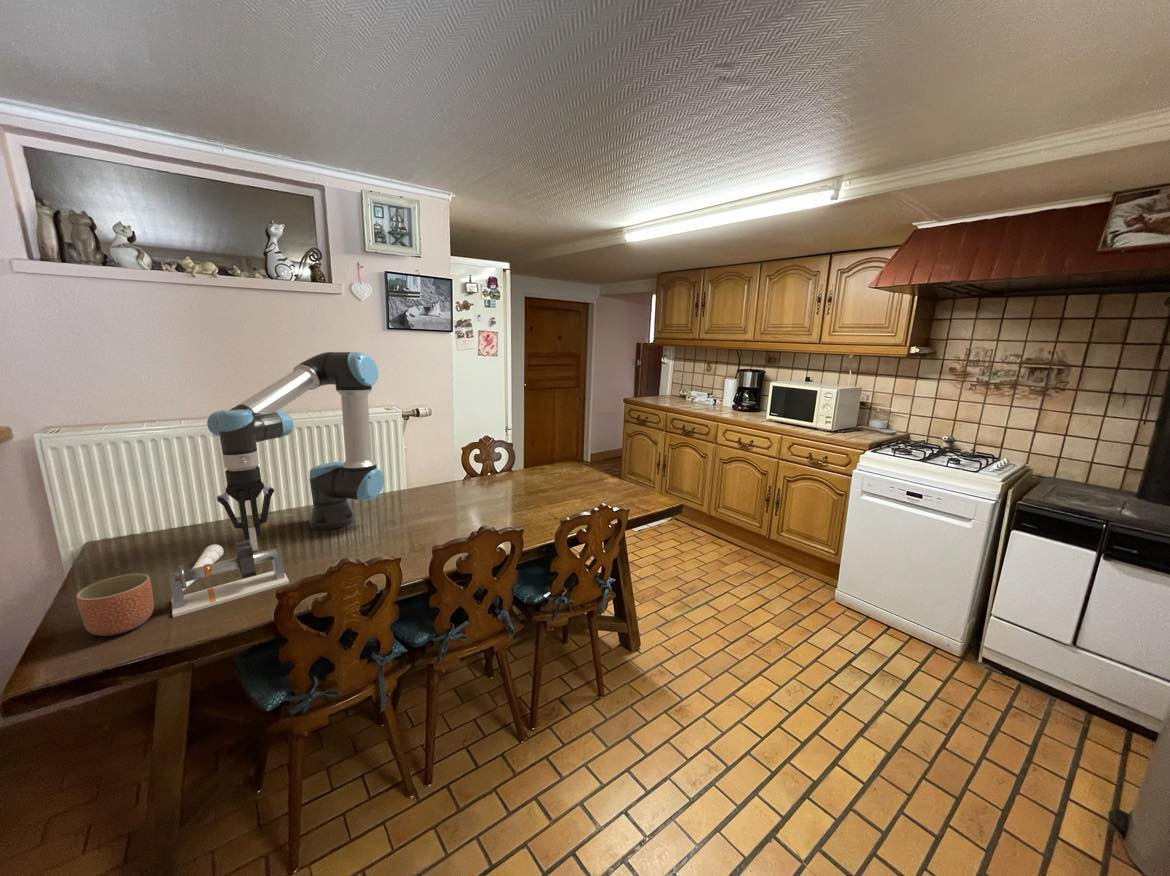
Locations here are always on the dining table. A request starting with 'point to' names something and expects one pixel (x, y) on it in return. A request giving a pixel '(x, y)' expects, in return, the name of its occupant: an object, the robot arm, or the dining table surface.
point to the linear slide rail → (211, 569)
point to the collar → (245, 559)
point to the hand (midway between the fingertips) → (254, 548)
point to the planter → (116, 604)
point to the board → (228, 592)
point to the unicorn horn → (208, 558)
